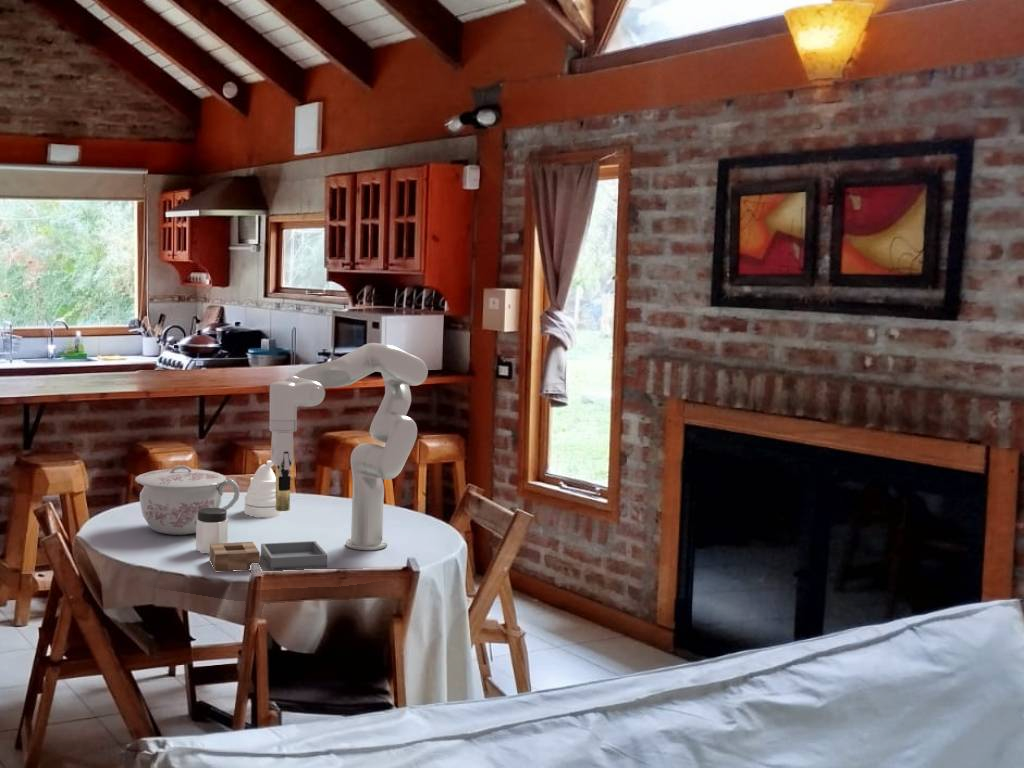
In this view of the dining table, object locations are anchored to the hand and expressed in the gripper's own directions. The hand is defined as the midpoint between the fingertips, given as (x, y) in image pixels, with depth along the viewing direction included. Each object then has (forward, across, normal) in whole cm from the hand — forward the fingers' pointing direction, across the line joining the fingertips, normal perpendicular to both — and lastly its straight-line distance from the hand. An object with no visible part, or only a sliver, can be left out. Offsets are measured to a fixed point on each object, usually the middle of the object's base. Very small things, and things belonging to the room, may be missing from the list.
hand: (282, 487), depth 329 cm
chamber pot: (+22, -42, -24) cm, 53 cm away
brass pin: (+6, 0, 0) cm, 6 cm away
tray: (+22, 0, +3) cm, 22 cm away
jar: (+22, -16, -18) cm, 32 cm away
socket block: (+21, +1, -14) cm, 25 cm away
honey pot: (+23, -61, +4) cm, 65 cm away
